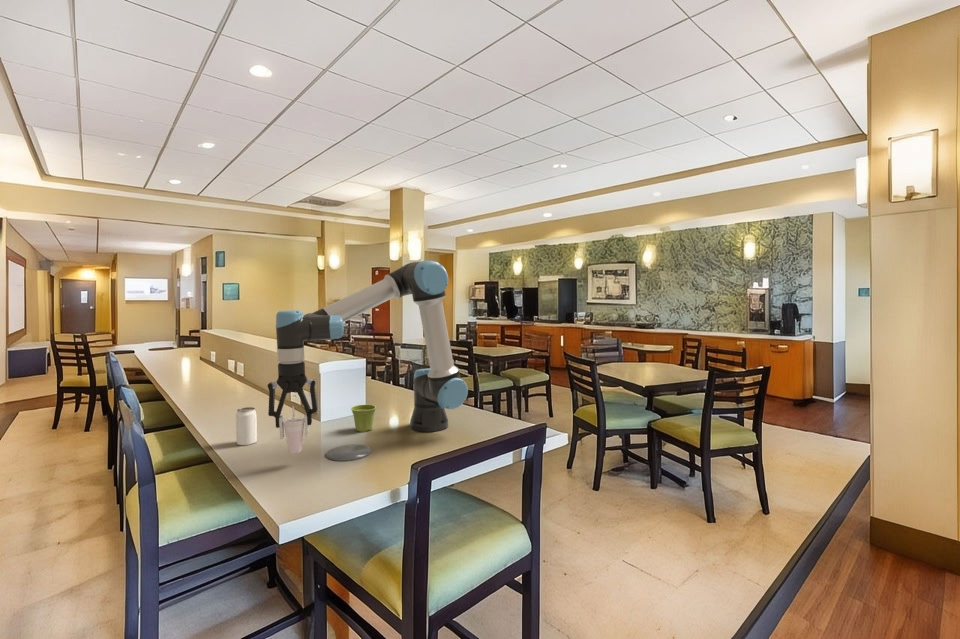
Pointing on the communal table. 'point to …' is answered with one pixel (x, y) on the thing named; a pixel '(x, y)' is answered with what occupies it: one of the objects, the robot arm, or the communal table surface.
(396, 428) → the communal table surface
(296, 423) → the smoothie
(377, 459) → the communal table surface
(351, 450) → the disc
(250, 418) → the can
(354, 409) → the plant pot
